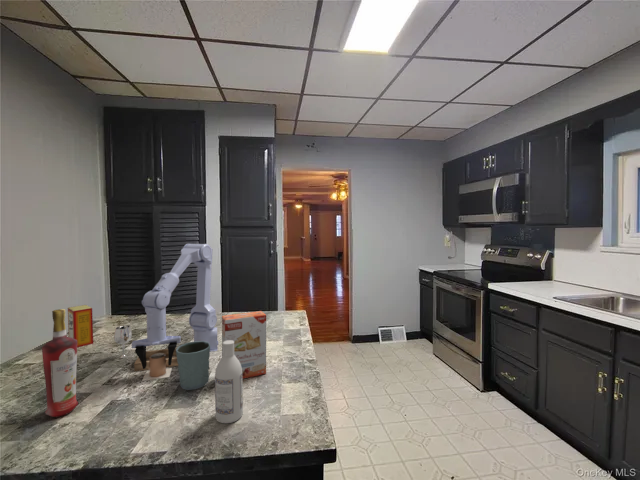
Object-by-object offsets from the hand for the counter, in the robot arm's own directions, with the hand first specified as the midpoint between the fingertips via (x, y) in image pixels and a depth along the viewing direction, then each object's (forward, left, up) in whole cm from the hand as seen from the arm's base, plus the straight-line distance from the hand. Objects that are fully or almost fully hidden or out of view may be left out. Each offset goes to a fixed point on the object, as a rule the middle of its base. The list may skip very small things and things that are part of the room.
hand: (157, 365), depth 104 cm
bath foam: (-22, +32, -4) cm, 39 cm away
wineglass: (+15, -20, -4) cm, 26 cm away
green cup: (-12, +10, -4) cm, 16 cm away
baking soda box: (+37, -44, -4) cm, 58 cm away
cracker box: (-28, +10, -4) cm, 30 cm away
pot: (0, 0, -3) cm, 3 cm away
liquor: (+21, +14, -4) cm, 26 cm away
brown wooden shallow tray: (0, -10, -3) cm, 11 cm away
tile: (0, 0, -3) cm, 3 cm away
